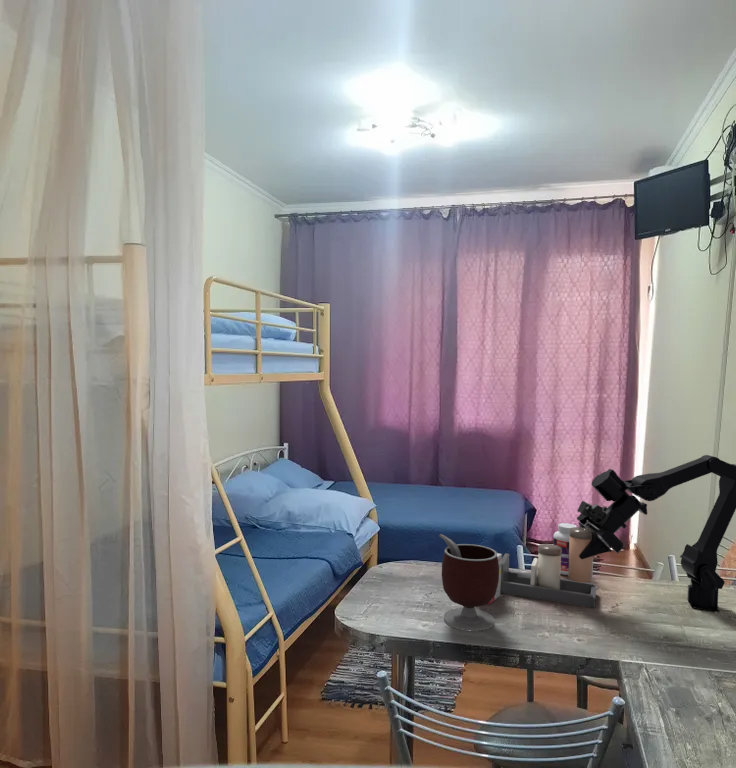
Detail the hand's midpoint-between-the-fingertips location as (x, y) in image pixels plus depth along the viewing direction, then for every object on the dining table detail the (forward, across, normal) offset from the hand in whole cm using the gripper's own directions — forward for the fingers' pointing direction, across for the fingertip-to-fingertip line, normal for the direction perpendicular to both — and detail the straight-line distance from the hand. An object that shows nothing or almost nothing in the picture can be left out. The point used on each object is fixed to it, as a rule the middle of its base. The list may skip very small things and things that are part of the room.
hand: (575, 554), depth 163 cm
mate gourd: (+31, +12, -12) cm, 36 cm away
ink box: (+26, -2, -7) cm, 27 cm away
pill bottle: (+5, -25, +14) cm, 29 cm away
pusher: (+16, -9, +2) cm, 19 cm away
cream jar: (+13, -7, +6) cm, 16 cm away
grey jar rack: (+13, -7, +6) cm, 16 cm away
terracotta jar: (+4, 0, +6) cm, 7 cm away
